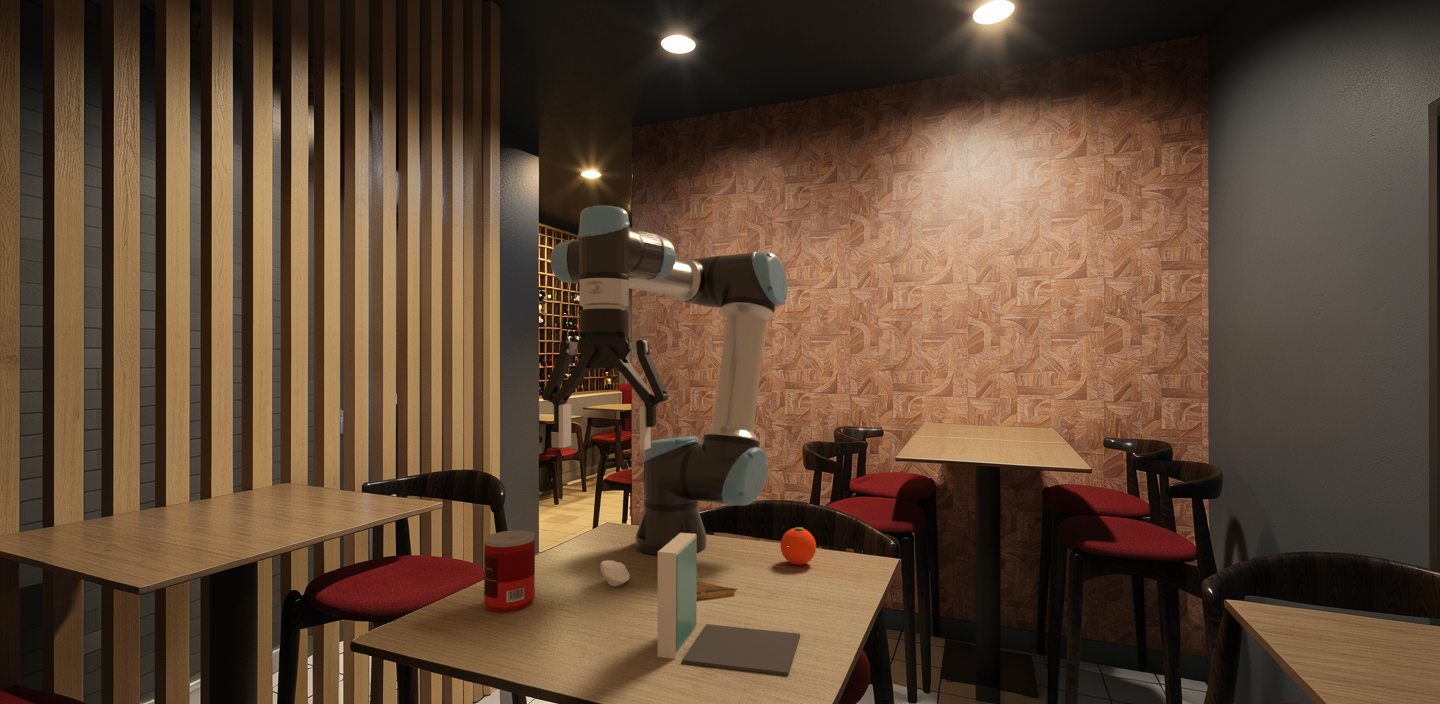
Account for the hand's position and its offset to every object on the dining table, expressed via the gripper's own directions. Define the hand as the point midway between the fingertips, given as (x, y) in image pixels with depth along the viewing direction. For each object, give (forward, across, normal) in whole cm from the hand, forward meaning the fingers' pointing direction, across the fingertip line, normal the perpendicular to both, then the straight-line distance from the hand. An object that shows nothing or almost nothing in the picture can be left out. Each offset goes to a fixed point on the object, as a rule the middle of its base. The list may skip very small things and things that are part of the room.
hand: (604, 447), depth 100 cm
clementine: (+27, +26, +34) cm, 51 cm away
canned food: (+26, -18, +2) cm, 32 cm away
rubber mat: (+26, +23, -5) cm, 35 cm away
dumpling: (+27, -4, +15) cm, 31 cm away
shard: (+27, +11, +15) cm, 33 cm away
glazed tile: (+26, +13, -5) cm, 30 cm away
